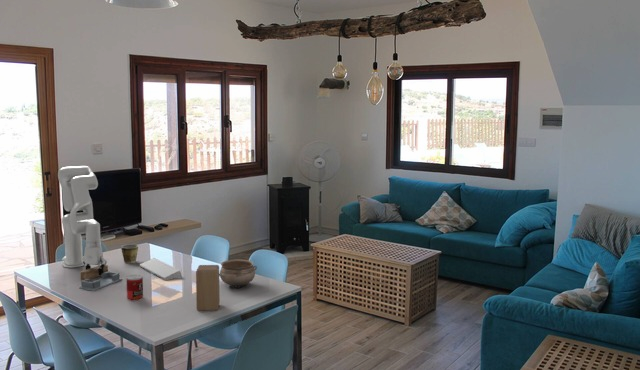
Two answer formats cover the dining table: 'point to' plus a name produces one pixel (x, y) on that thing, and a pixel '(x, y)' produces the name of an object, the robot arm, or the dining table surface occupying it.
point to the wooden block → (207, 287)
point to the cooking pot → (237, 272)
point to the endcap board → (101, 281)
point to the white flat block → (161, 269)
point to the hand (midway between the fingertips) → (94, 273)
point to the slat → (92, 272)
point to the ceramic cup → (129, 253)
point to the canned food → (134, 287)
